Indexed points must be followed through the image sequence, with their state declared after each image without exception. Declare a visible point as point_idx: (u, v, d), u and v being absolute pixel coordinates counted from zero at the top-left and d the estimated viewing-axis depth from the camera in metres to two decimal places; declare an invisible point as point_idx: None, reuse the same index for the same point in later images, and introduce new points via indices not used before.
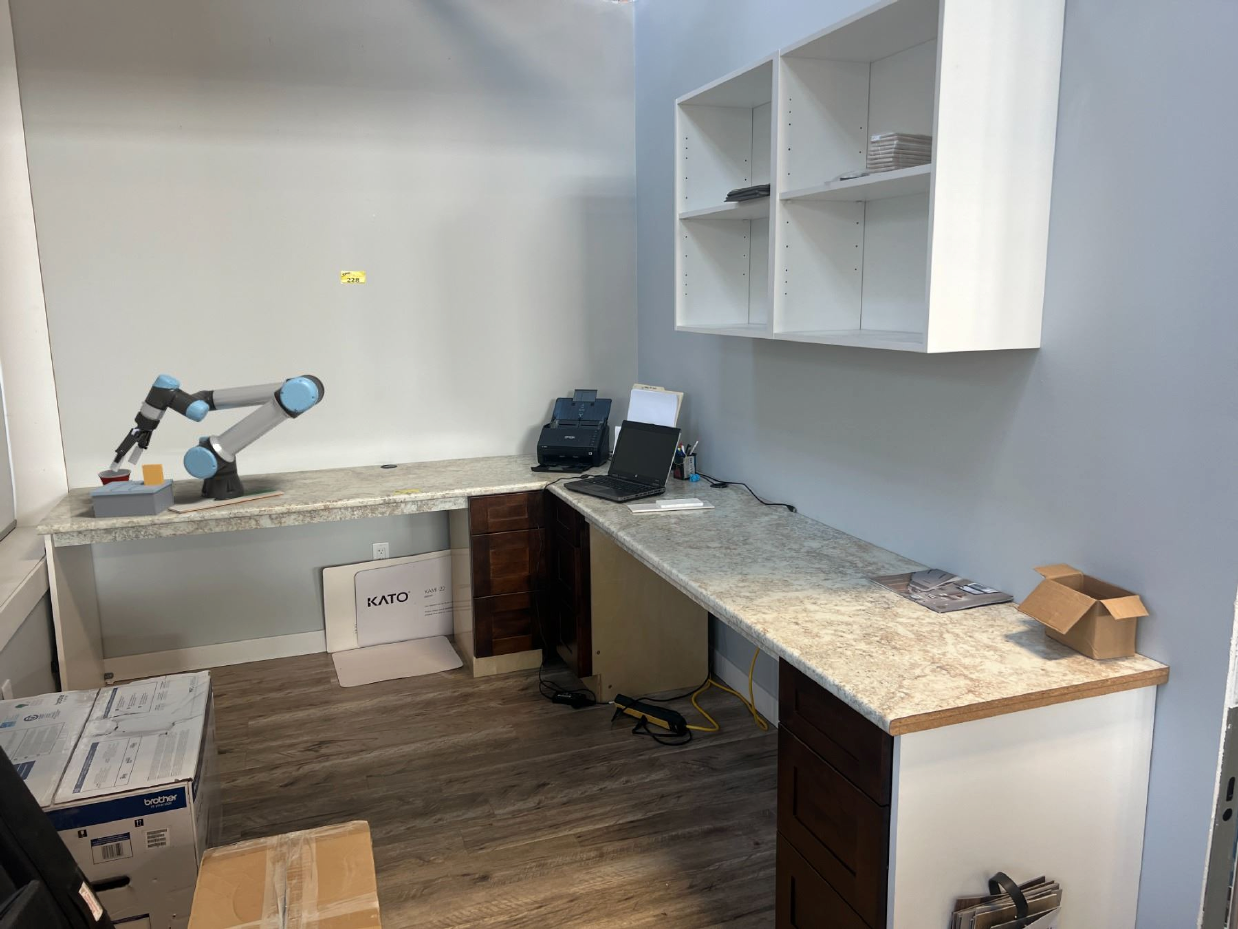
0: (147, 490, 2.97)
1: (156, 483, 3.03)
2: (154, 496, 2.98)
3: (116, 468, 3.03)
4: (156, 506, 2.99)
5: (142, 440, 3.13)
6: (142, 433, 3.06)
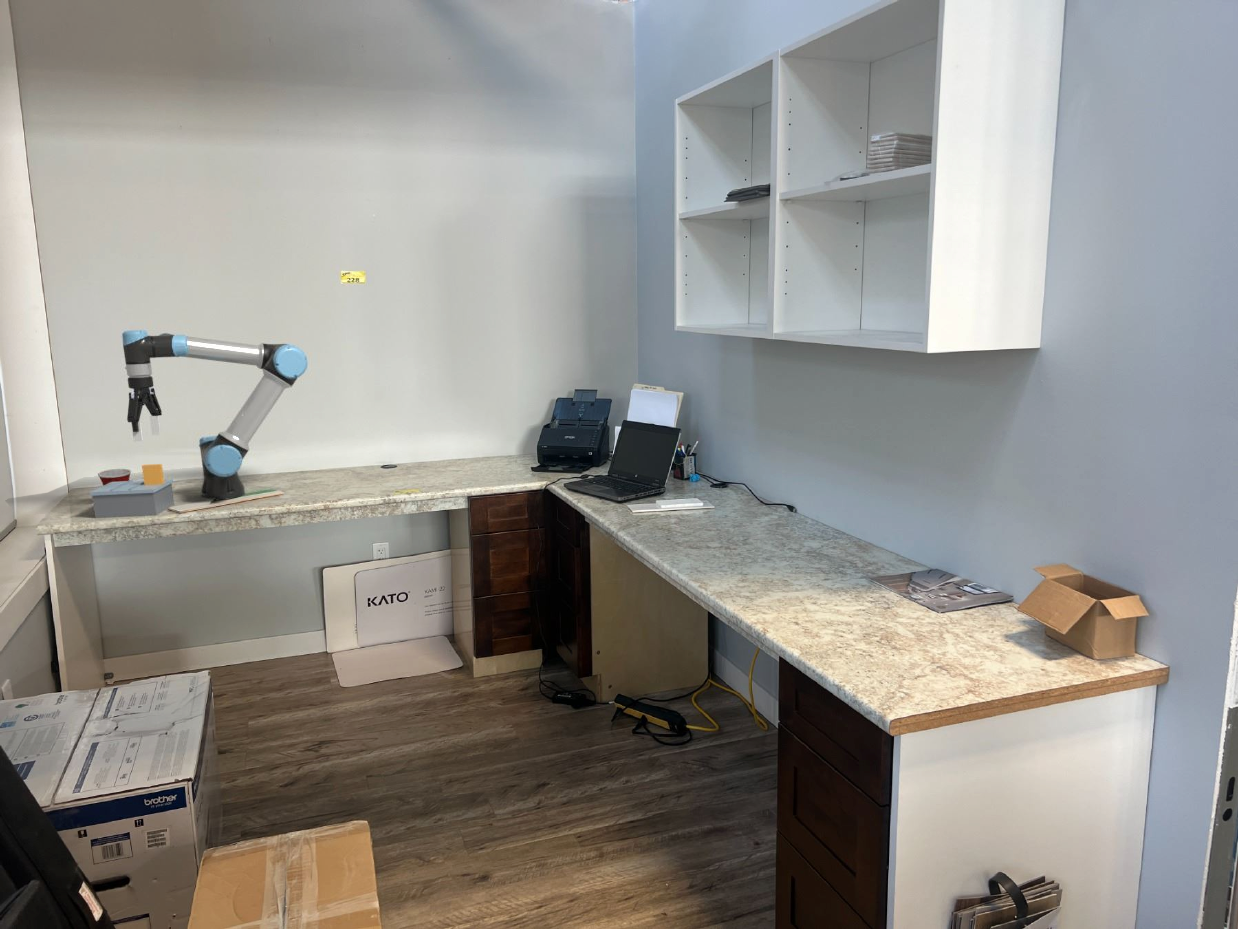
0: (147, 490, 2.97)
1: (156, 483, 3.03)
2: (154, 496, 2.98)
3: (140, 437, 2.94)
4: (156, 506, 2.99)
5: (150, 406, 3.03)
6: (143, 395, 2.96)
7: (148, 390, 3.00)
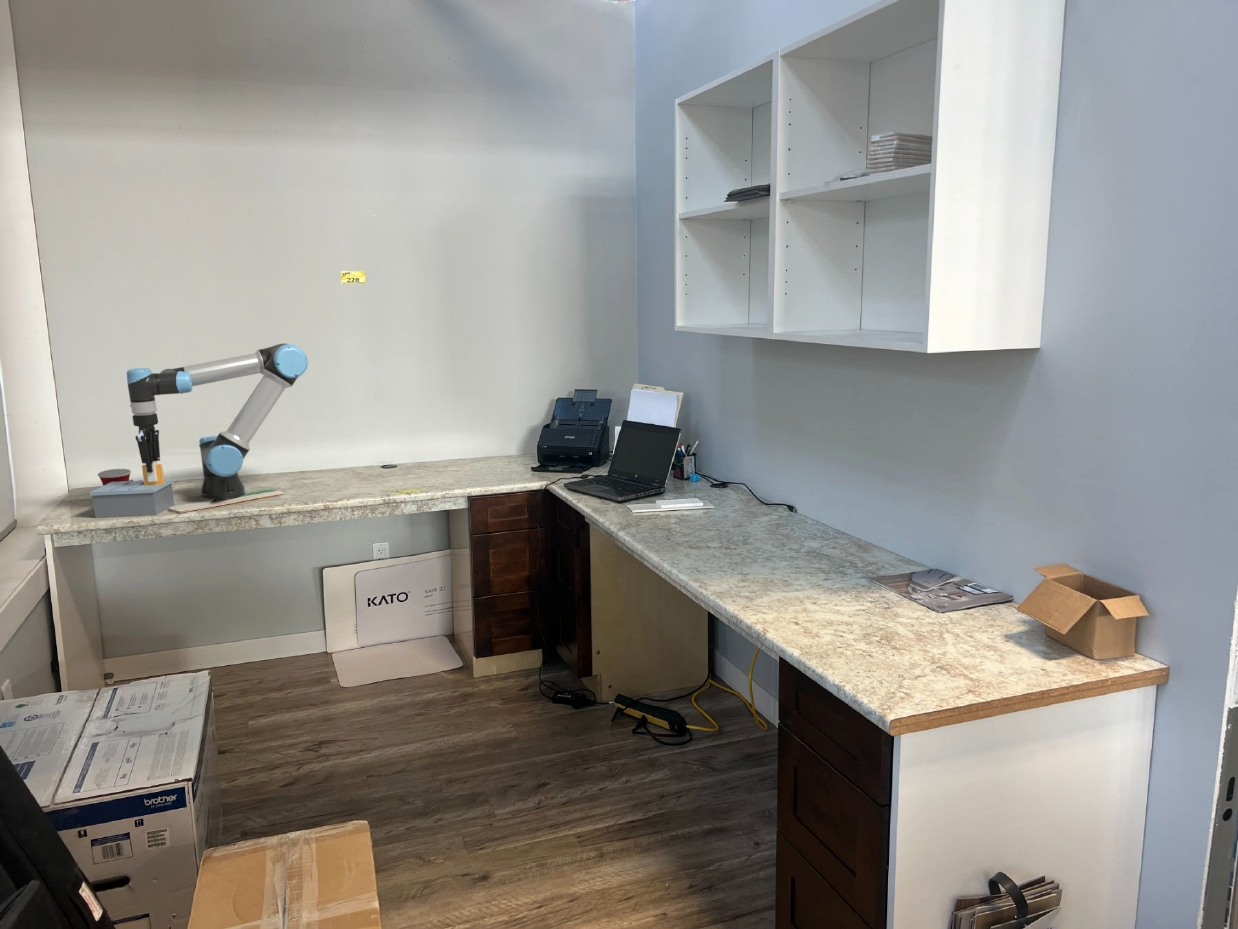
0: (147, 490, 2.97)
1: (156, 483, 3.03)
2: (154, 496, 2.98)
3: (154, 478, 3.02)
4: (156, 506, 2.99)
5: (151, 447, 3.03)
6: (148, 433, 2.99)
7: (153, 426, 3.03)
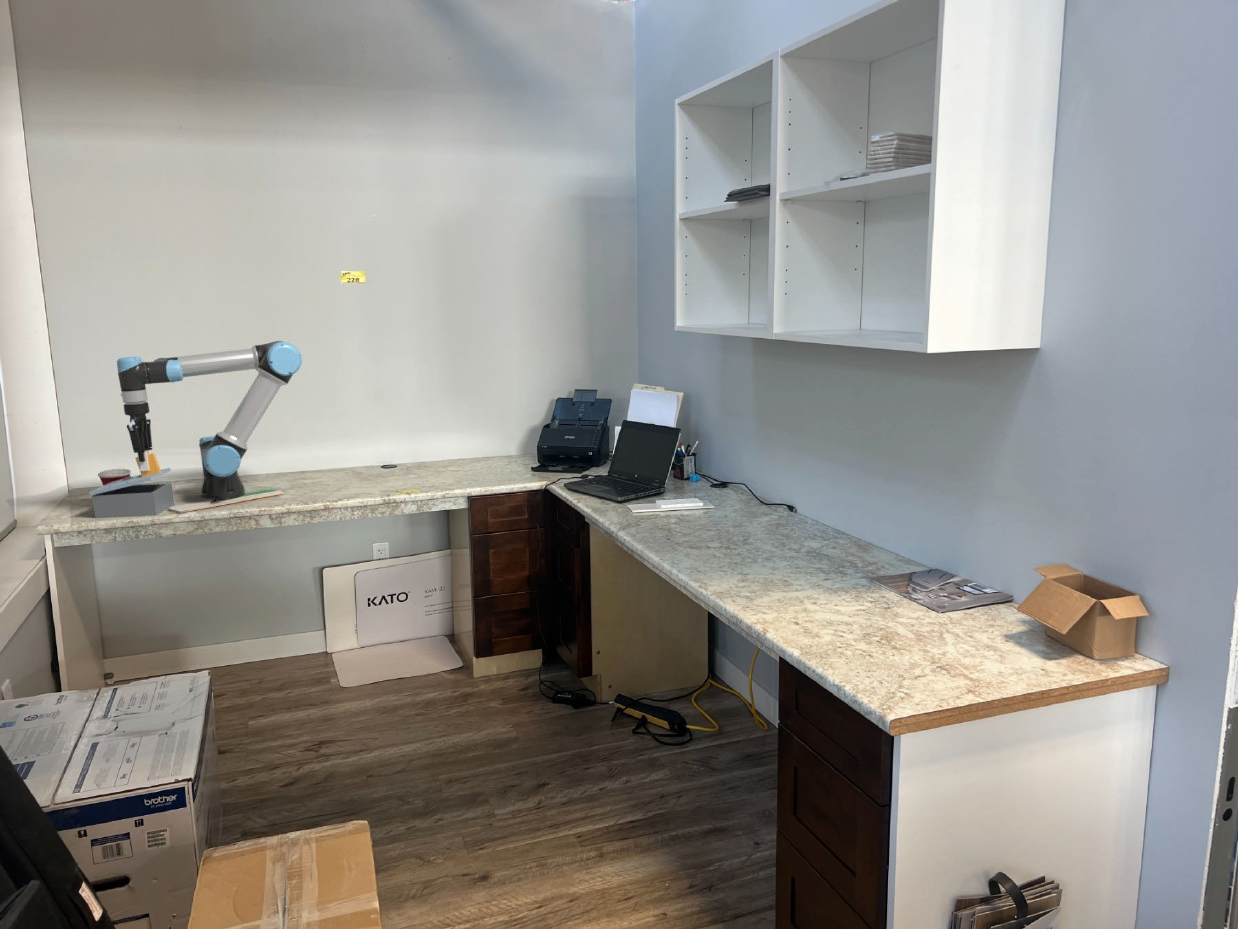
0: (144, 479, 2.96)
1: (153, 472, 3.03)
2: (154, 496, 2.98)
3: (146, 467, 3.01)
4: (156, 506, 2.99)
5: (143, 436, 3.02)
6: (140, 422, 2.98)
7: (145, 415, 3.02)
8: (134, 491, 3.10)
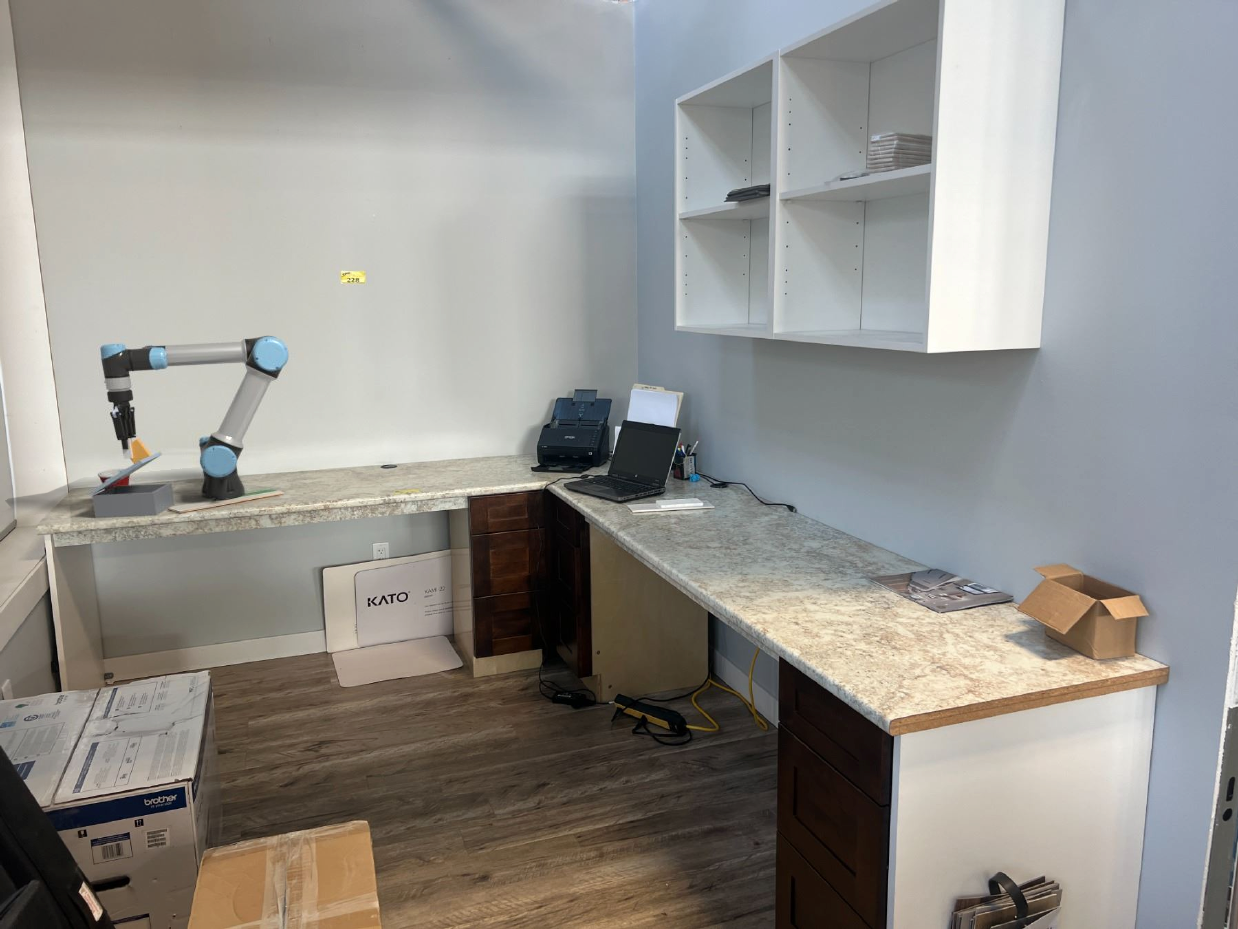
0: (135, 464, 2.94)
1: (143, 458, 3.01)
2: (154, 496, 2.98)
3: (129, 454, 3.00)
4: (156, 506, 2.99)
5: (127, 423, 3.00)
6: (123, 410, 2.96)
7: (128, 403, 3.01)
8: (134, 491, 3.10)
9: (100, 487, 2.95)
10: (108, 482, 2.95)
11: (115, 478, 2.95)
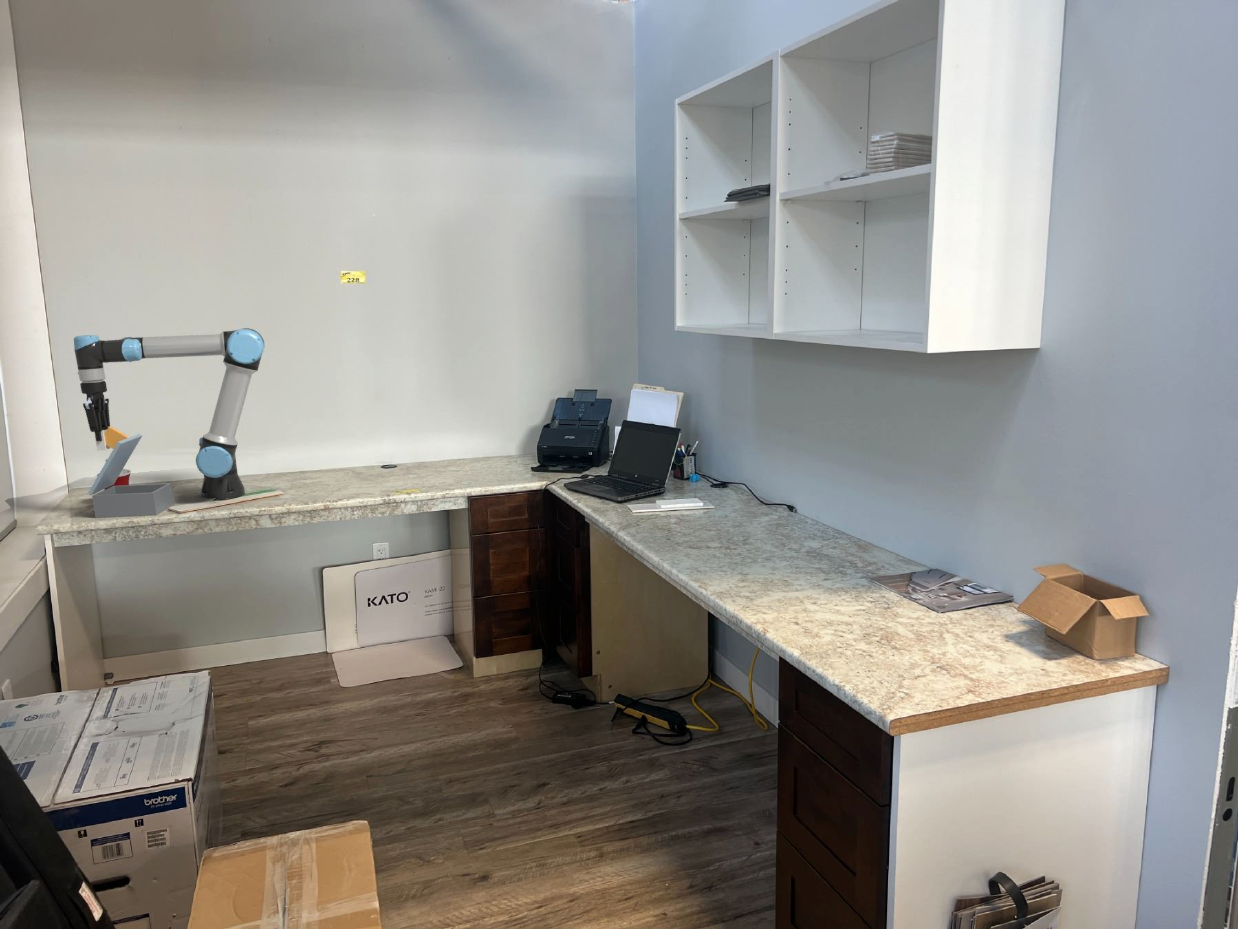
0: (115, 447, 2.93)
1: None
2: (154, 496, 2.98)
3: (103, 446, 2.99)
4: (156, 506, 2.99)
5: (100, 415, 2.99)
6: (97, 401, 2.95)
7: (102, 394, 2.99)
8: (134, 491, 3.10)
9: (95, 483, 2.94)
10: (100, 475, 2.94)
11: (104, 468, 2.94)
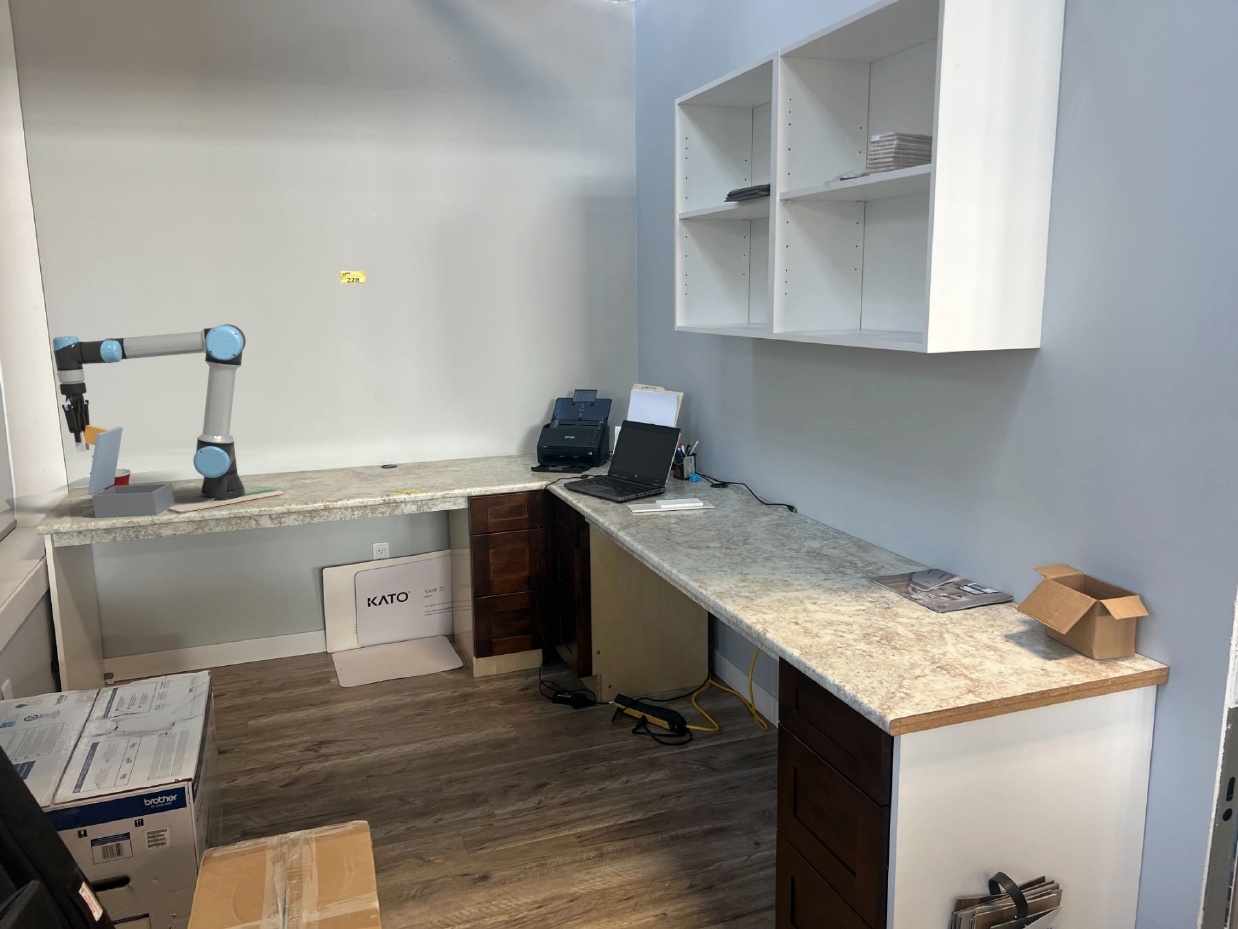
0: (96, 440, 2.92)
1: None
2: (154, 496, 2.98)
3: (82, 448, 2.98)
4: (156, 506, 2.99)
5: (80, 416, 2.98)
6: (76, 402, 2.95)
7: (82, 395, 2.99)
8: (134, 491, 3.10)
9: (91, 481, 2.94)
10: (92, 472, 2.94)
11: (94, 464, 2.93)
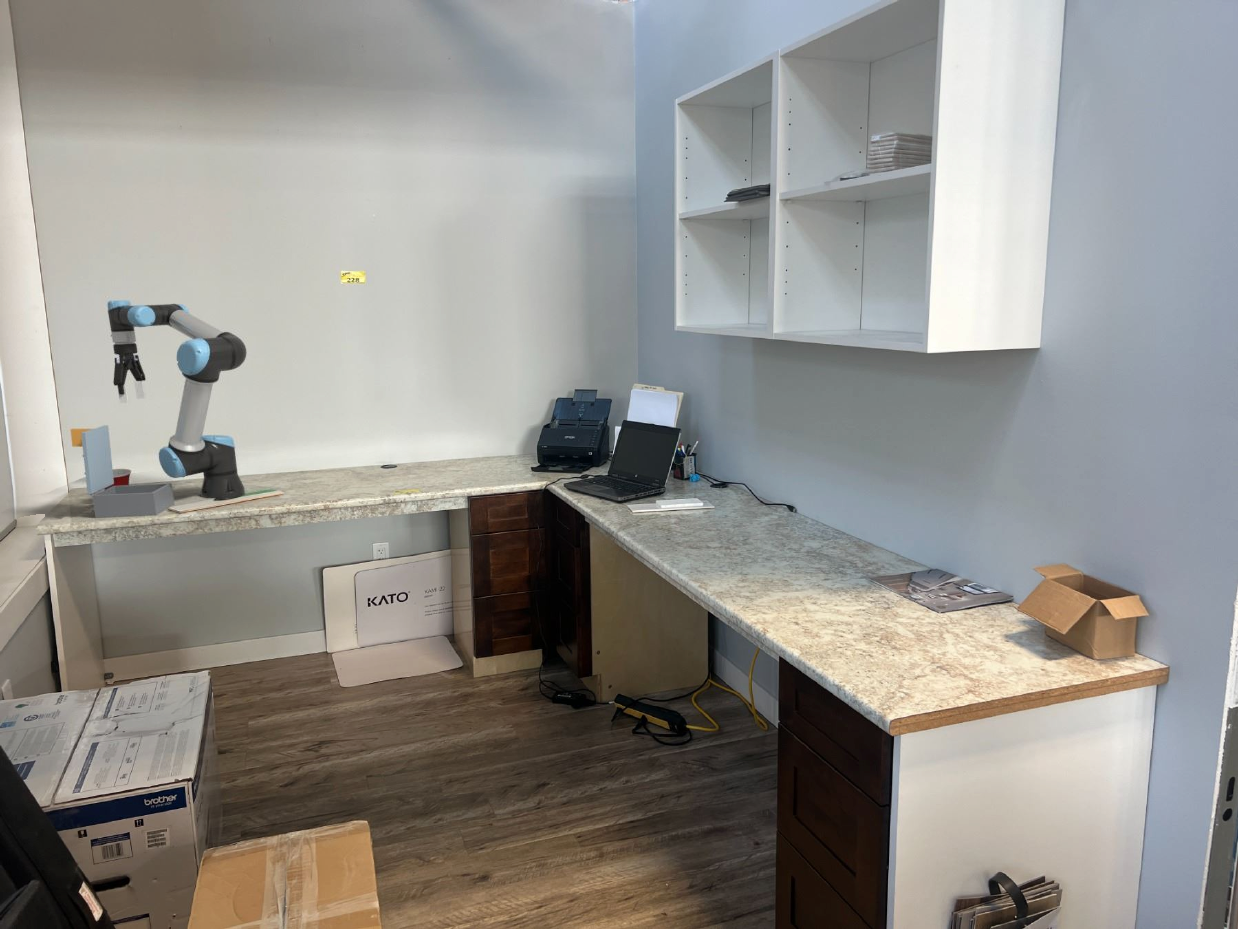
0: (82, 438, 2.91)
1: None
2: (154, 496, 2.98)
3: (125, 399, 3.17)
4: (156, 506, 2.99)
5: (134, 371, 3.26)
6: (128, 360, 3.19)
7: (132, 356, 3.23)
8: (134, 491, 3.10)
9: (88, 481, 2.94)
10: (87, 471, 2.93)
11: (86, 463, 2.93)
